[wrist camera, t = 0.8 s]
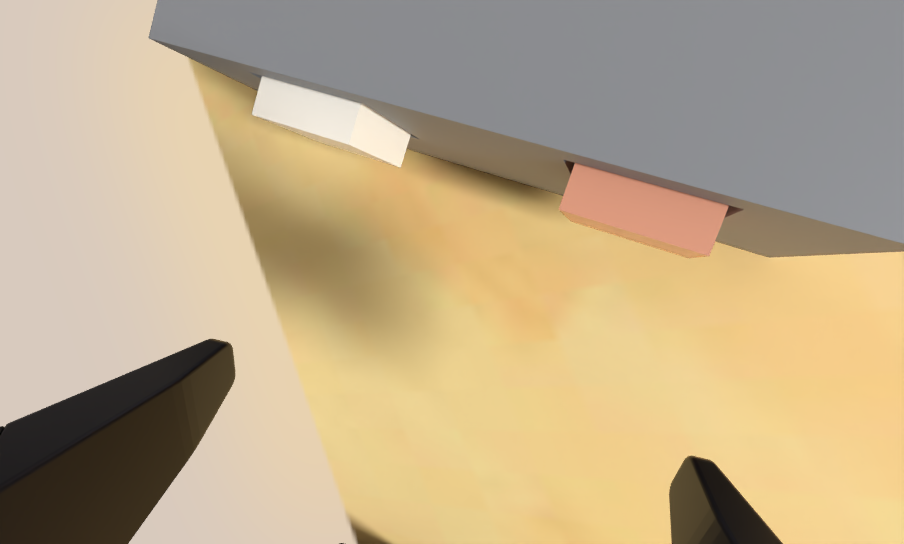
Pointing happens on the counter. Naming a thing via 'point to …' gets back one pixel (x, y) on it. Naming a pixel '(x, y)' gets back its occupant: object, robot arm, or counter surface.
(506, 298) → the counter surface
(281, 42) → the console
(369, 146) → the cream button
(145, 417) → the robot arm
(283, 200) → the counter surface
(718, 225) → the terracotta button
